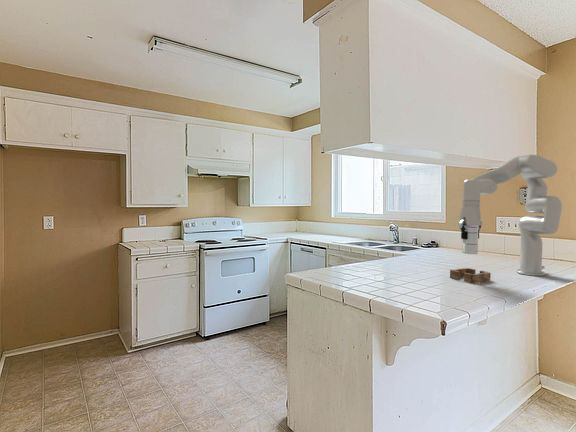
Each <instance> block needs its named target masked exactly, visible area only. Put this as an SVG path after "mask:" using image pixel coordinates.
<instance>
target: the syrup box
mask: <svg viewBox="0 0 576 432" xmlns="http://www.w3.org/2000/svg"><path fill="white" fill-rule="evenodd" d="M465 228H466V227H465ZM467 231H468V239H462V249H461V250H462V253H463V254H466V255H478V254H479V252H478V251H479V249H478V248H479V239H478V226H477V225H472V226H470V227H468V230H467Z"/></svg>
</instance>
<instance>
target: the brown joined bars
mask: <svg viewBox="0 0 576 432" xmlns="http://www.w3.org/2000/svg"><path fill="white" fill-rule="evenodd" d="M462 277H463V282H465V283H469V284H477V283H484V282H490V281H491V272H489V271H485V270H479V272H478V273H476V269H474V268H470V267H469V268H468V267H461V268H454V269H449V278H451V280H452V279H453V280H457V281H458V280H461V278H462Z"/></svg>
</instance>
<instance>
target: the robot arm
mask: <svg viewBox="0 0 576 432" xmlns="http://www.w3.org/2000/svg"><path fill="white" fill-rule="evenodd" d="M557 172H558V166H557V164H556V163H555V162H554V161H552V160H551V159H548V158H545V157H543V156H540V155H536V154H527V155H520V156H514V157H513V158H511V159H509V160H507V161H506V162H505V163H503V164H502V165H500V166H498V167H497V168H494V169H493V168H492V169H491V170H489V171H486V172H484V173H482V174H479V175H477V176H476V177H474V178H472V179H465V180H464V181H463V182H462V183H463V184H462V186H463V187H462V207H461V210H460V217H459V222H458V226H459V229H460V233H461V234H460V235H461V236H460V238H461V240H463V239H468V231H467V230H468V227H470V226H472V225H477V226H478V240H479V239H480V231H481V228H482V225H483V222H482V220H481V219H482V218H481V208H480V206H481V195H491V194H494V193H495V192H496V191H497V189H498V185H499V184H504V183H506V182H509V181H511V180H512V179H514V178H515V177H517V176H518V175H519V174H520V176H521V178H522V179H523V180H524V181H525V183H526V187H527V192H526V199H525V203H524V205H525V206H524V208H525V210H526V212H527V213H529V214H540V215H525V216H523V217H521V218H520V219H519V221H518V229H519V232H520V255H519V256H520V258H519V268H518V269H516V273H517V274H521V275H527V276H535V277H536V276H537V277H538V276H539V277H542V276H546V272H544V271H542V270H544V269H546V267H545V265H543V239H542V237H541V236H540V235H547V236H549V235H550V236H551V235H554V234H556V233H557V232H558V230H559V227H560V222H561V215H562V207H563V204H562V200H561V198H560V197H558V196H556V195H548V186H547V185H548V184H547V183H546V182H545V180H544V179H548V178H549V179H550V178H552V177H554V176H555V175H556V174H557ZM541 214H542V215H541ZM543 214H544V215H543ZM465 227H466V228H465Z"/></svg>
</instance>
